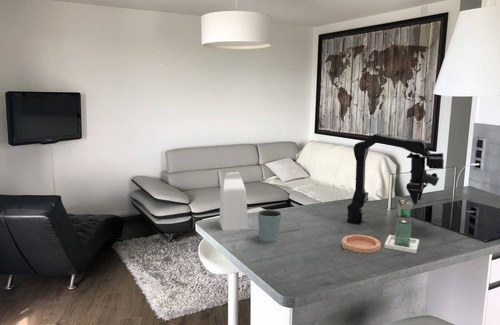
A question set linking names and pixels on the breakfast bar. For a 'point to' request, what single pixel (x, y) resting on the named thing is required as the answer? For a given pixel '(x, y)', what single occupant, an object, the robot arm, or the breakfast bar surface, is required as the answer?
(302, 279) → the breakfast bar surface
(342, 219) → the breakfast bar surface
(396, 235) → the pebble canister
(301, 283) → the breakfast bar surface
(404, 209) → the food container
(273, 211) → the blue-grey cup
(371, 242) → the bowl
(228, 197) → the milk
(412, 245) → the tray
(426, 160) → the robot arm
